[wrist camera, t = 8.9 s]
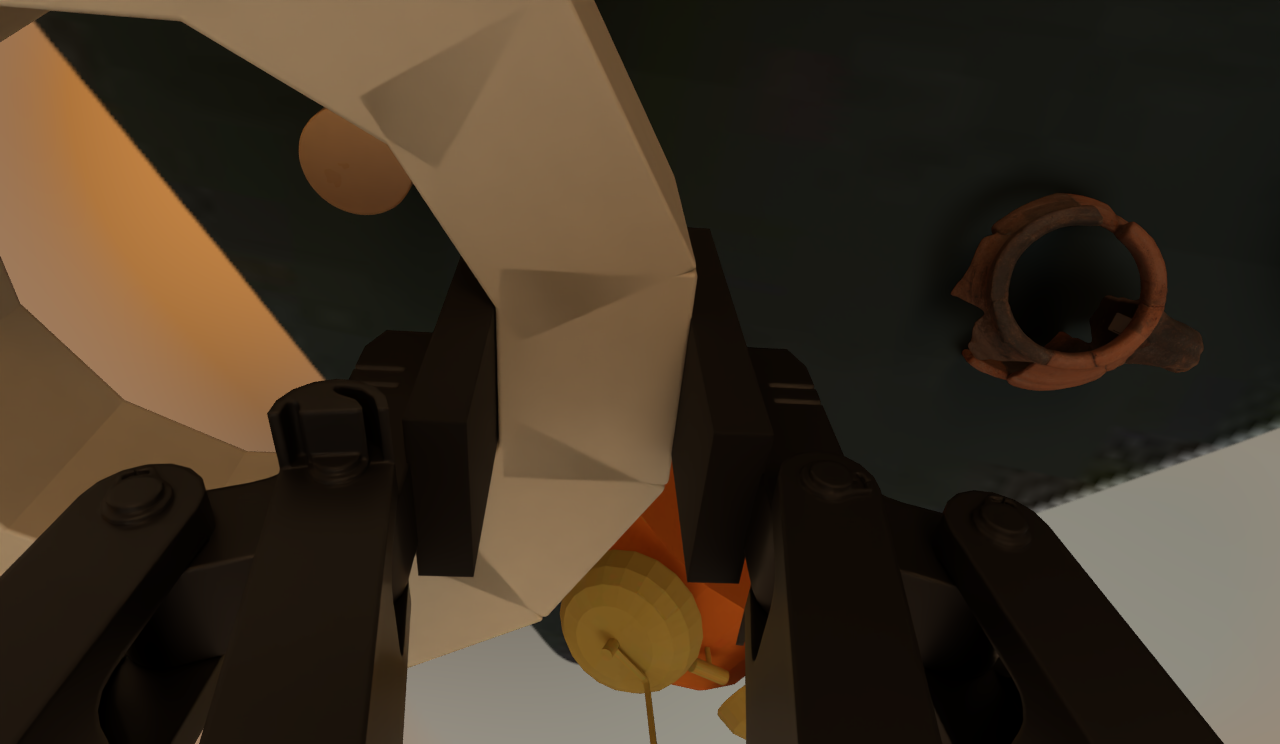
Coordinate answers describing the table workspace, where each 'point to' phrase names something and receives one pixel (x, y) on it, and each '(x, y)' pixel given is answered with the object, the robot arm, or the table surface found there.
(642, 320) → the ring
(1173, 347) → the pottery mug
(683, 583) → the alarm clock
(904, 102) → the table surface
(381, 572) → the robot arm
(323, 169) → the stand
